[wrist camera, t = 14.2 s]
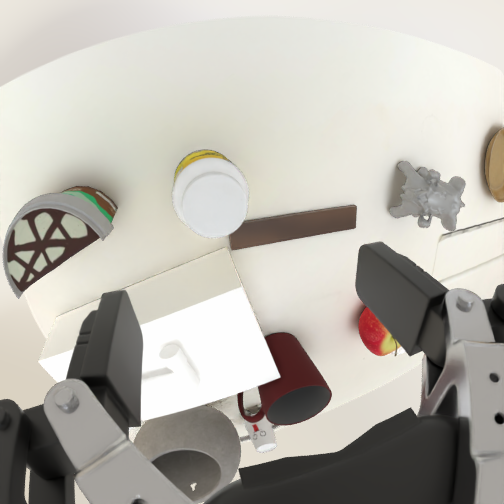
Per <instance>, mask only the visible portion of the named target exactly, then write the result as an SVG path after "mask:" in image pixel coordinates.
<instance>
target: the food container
mask: <svg viewBox="0 0 504 504" xmlns="http://www.w3.org/2000/svg"><path fill="white" fill-rule="evenodd" d="M116 211H117V207H116V205H115V204H114V202H113V201H112V200H111V199H110V198H109V197H108V196H106V195H105V194H104V193H103V192H101V191H99V190H97V189H94V188H91V187H89V186H76V187H73V188H70V189H67V190H65V191H63V192H61V193H49V194H45V195H41V196H38V197H36V198H34V199H32V200H31V201H29V202H28V203H27V204H25V205H24V206H23V207H22V208H21V209H20V211H19V212H18V213H17V215H16V216H15V218H14V219H13V221H12V223H11V224H10V226H9V228H8V231H7V233H6V237H5V241H4V246H3V265H4V270H5V274H6V277H7V280H8V282H9V285H10V287H11V288H12V290H13V292H14V294H15V295H16V297H17V298H18V299H19V298H20V296H21V295H22V294H23V292H24V291H25V290H26V289H27V288H28V287H29V286H30V285H32V284H33V283H35V282H36V281H37V280H39V279H40V278H42V277H43V276H44V275H46V274H47V273H49V272H51V271H52V270H54V269H55V268H57V267H58V266H59V265H61V264H62V263H63V262H65V261H66V260H67V259H69V258H70V257H72V256H73V255H75V254H76V253H78V252H79V251H81V250H82V249H84V248H85V247H87V246H88V245H90V244H91V243H93V242H94V241H96V240H97V239H99V238H101V239H102V240H104V239H105V237H106V236H108V235H109V233H110V232H111V231H112V229H113V228H114V227H113V225H112V224H111V222H112V220H113V218H114V215H115V213H116Z"/></svg>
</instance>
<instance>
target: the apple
mask: <svg viewBox="0 0 504 504" xmlns="http://www.w3.org/2000/svg"><path fill="white" fill-rule="evenodd" d="M359 334H360V337H361V339H362V341H363V343H364V345H365V346H366V347H367V348H368V349H369V350H370V351H371V352H372V353H374V354H375V355H378V356H384V355H387V354H389V353H392V352H393V351H395V350H396V351H395V356H396V355H397V349H398V348H400V347H401V345H400V344H399V343H398V342H397V341H396V339H395V338H394V337H393V336H392V335H391V334H390V332H389V331H388V330H387V329H386V328H385V327H384V325H383V324H382V323H381V322H380V321H379V320H378V319H377V317H376V316H375V315H374V314H373V313H372V312H371V311H370V309H369V308H368V307H366V308H365V309H364V311H363V312H362V314H361V316H360V319H359Z"/></svg>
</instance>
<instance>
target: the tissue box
mask: <svg viewBox="0 0 504 504" xmlns="http://www.w3.org/2000/svg"><path fill="white" fill-rule="evenodd" d="M122 290H126V291H127V293H128V295H129V298H130V301H131V304H132V306H133V309H134V312H135V314H136V317H137V320H138V322H139V325H140V328H141V331H142V336H143V360H142V382H141V421H144V420H149V419H153V418H157V417H161V416H165V415H169V414H172V413H176V412H180V411H183V410H187V409H190V408H194V407H197V406H201V405H204V404H207V403H210V402H213V401H217V400H220V399H223V398H226V397H229V396H232V395H235V394H237V393H240V392H243V391H246V390H249V389H251V388H254V387H257V386H259V385H262V384H265V383H267V382H270V381H272V380H275V379H277V378H280V374H279V372H278V370H277V367H276V365H275V362H274V360H273V357H272V355H271V353H270V350H269V348H268V345H267V343H266V340H265V338H264V335H263V333H262V330H261V328H260V326H259V323H258V321H257V319H256V316H255V314H254V311H253V309H252V307H251V304H250V302H249V299H248V297H247V295H246V292H245V290H244V287H243V285H242V282H241V280H240V277H239V275H238V273H237V270H236V268H235V265H234V263H233V260H232V258H231V255H230V253H229V250H228V248H227V247H225V248H222V249H220V250H217V251H215V252H212V253H210V254H207V255H205V256H202V257H200V258H197V259H195V260H193V261H190V262H188V263H185V264H183V265H180V266H178V267H175V268H173V269H170V270H168V271H165V272H163V273H161V274H158V275H156V276H153V277H151V278H148V279H146V280H144V281H141V282H139V283H136V284H134V285H131V286H129V287H127V288H124V289H122ZM100 300H101V298H100V299H98V300H95V301H93V302H91V303H88V304H86V305H84V306H81V307H79V308H76V309H74V310H72V311H69V312H67V313H65V314H62V315H60V316H58V317H56V320H55V322H54V324H53V326H52V329H51V331H50V333H49V335H48V338H47V340H46V342H45V345H44V347H43V350H42V352H41V355H40V357H39V360H38V362H39V363H40V364H41V365H42V366H43V368H44V369H45V370H46V371H47V372H48V373H49V374H50V375H51V376H52V377H53V378H54V379H55V380H56V381H57V382H60V381H63V380H65V379H66V376H67V372H68V368H69V364H70V361H71V357H72V354H73V351H74V347H75V345H76V341H77V338H78V335H79V331H80V328H81V325H82V322H83V321H84V319H85V318H86V317H87V316H88V315H89V313H90V312H91V311H93V310H98V307H99V303H100Z"/></svg>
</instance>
